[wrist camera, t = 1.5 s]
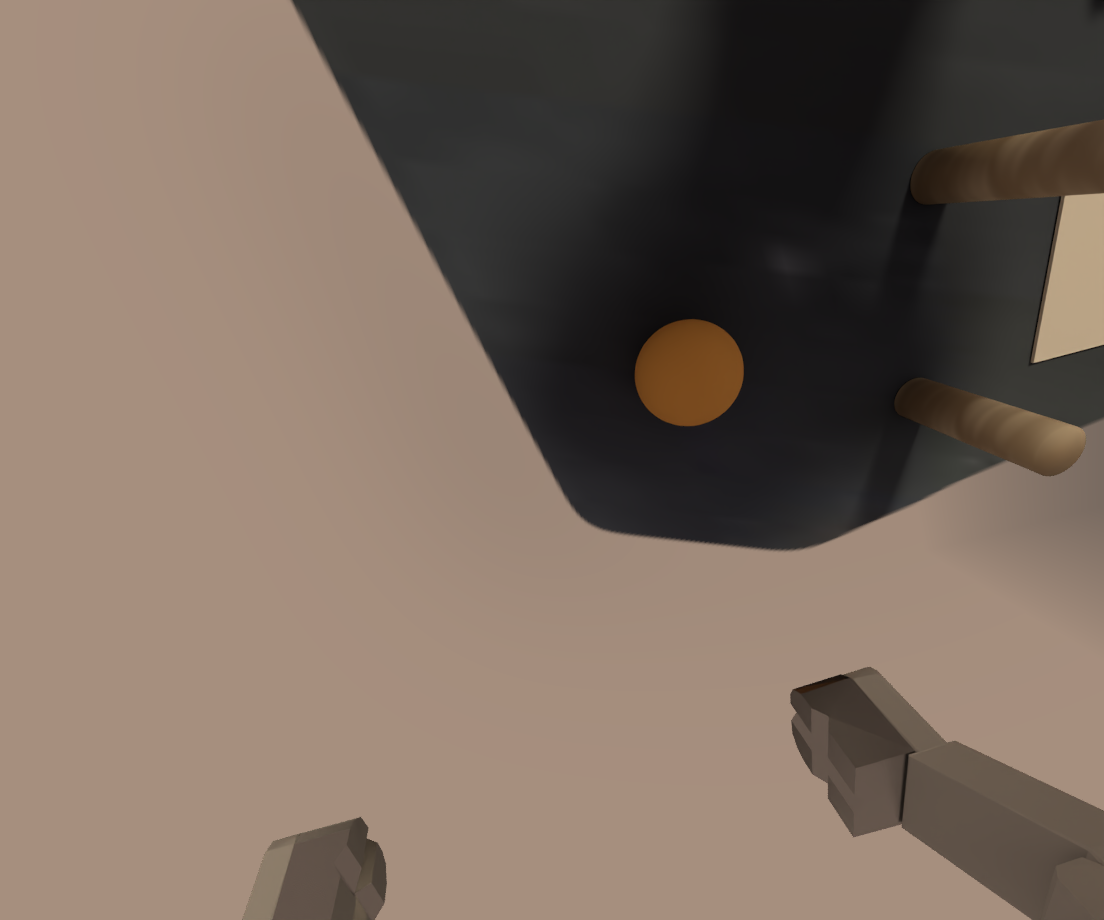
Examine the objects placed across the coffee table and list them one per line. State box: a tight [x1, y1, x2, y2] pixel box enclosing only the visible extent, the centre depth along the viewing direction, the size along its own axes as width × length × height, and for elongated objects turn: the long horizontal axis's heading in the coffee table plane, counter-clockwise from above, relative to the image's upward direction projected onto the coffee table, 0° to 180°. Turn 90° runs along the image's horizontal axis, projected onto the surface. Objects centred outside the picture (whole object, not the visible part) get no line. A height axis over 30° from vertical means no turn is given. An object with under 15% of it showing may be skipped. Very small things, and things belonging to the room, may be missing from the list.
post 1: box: [910, 120, 1104, 205], centre depth 24 cm, size 3×3×9 cm
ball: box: [635, 319, 744, 426], centre depth 27 cm, size 6×6×6 cm
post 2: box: [894, 378, 1086, 476], centre depth 29 cm, size 3×3×9 cm
